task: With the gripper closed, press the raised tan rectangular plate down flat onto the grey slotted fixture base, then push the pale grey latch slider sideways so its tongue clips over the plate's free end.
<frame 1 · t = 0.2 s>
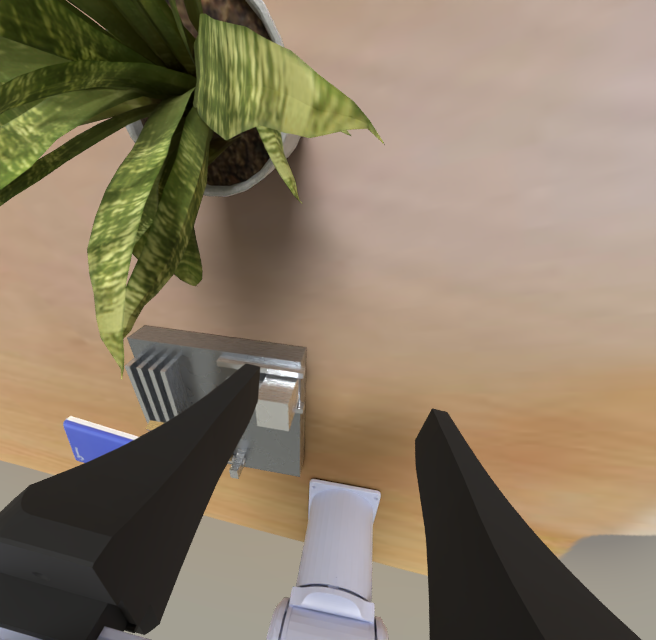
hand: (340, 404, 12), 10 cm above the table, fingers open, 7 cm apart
grey slotted fixture base: (233, 399, 28), on the table
tan rectangular plate: (197, 444, 24), point 5 cm above the table, hinge at 25.0°
latch: (259, 396, 22), point 4 cm above the table, slide at 0.0 cm
hard drive: (128, 445, 36), on the table
house plant: (237, 100, 16), on the table
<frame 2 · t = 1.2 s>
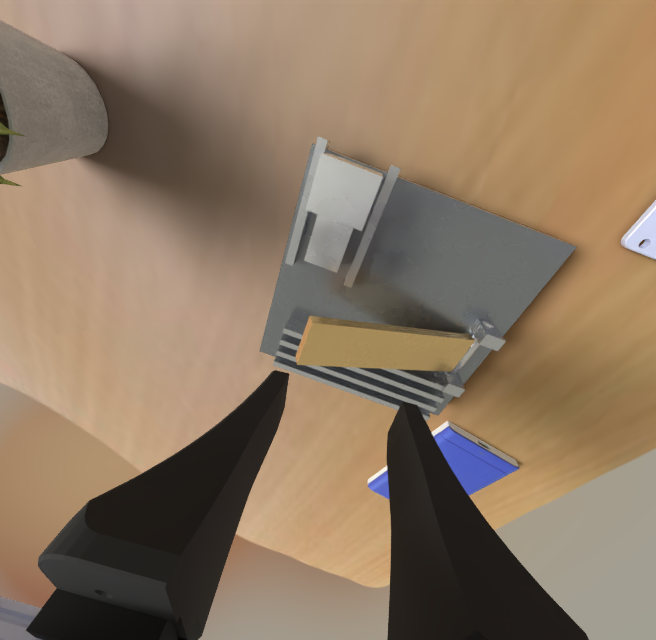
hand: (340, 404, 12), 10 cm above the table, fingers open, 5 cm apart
grey slotted fixture base: (387, 295, 20), on the table
tan rectangular plate: (391, 348, 17), point 5 cm above the table, hinge at 25.0°
latch: (335, 220, 15), point 4 cm above the table, slide at 0.0 cm
hard drive: (434, 464, 30), on the table
house plant: (65, 126, 18), on the table
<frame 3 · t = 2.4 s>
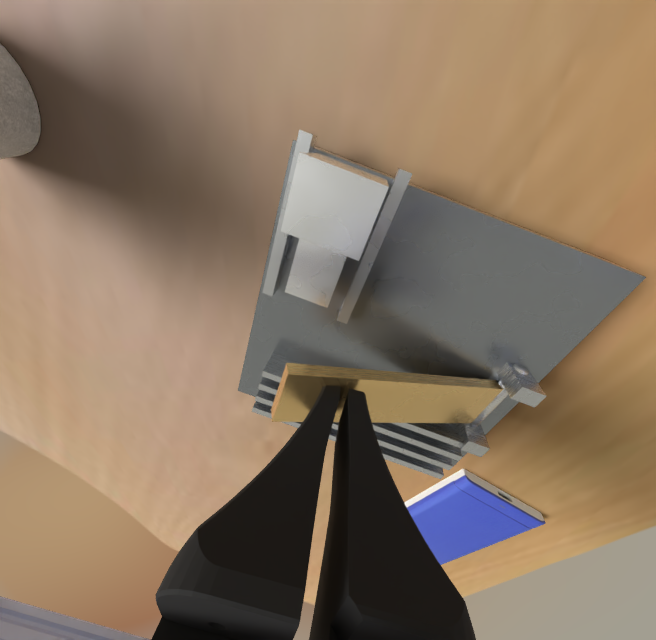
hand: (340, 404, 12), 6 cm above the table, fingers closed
grey slotted fixture base: (392, 327, 17), on the table
tan rectangular plate: (395, 398, 13), point 5 cm above the table, hinge at 22.2°, touching gripper
latch: (324, 242, 11), point 4 cm above the table, slide at 0.0 cm
hard drive: (444, 510, 26), on the table
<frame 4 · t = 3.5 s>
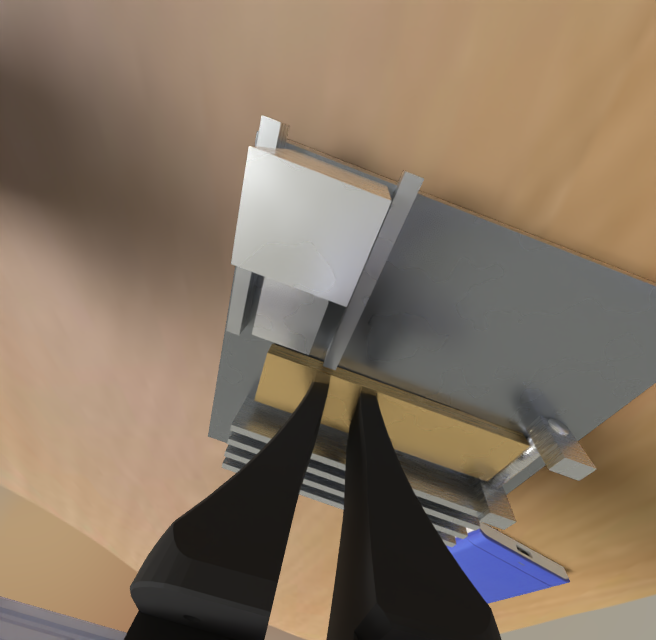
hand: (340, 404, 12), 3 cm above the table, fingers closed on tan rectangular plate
grey slotted fixture base: (393, 364, 13), on the table
tan rectangular plate: (385, 416, 12), point 2 cm above the table, hinge at 0.5°, touching gripper
latch: (302, 272, 8), point 4 cm above the table, slide at 0.0 cm
hard drive: (452, 556, 23), on the table
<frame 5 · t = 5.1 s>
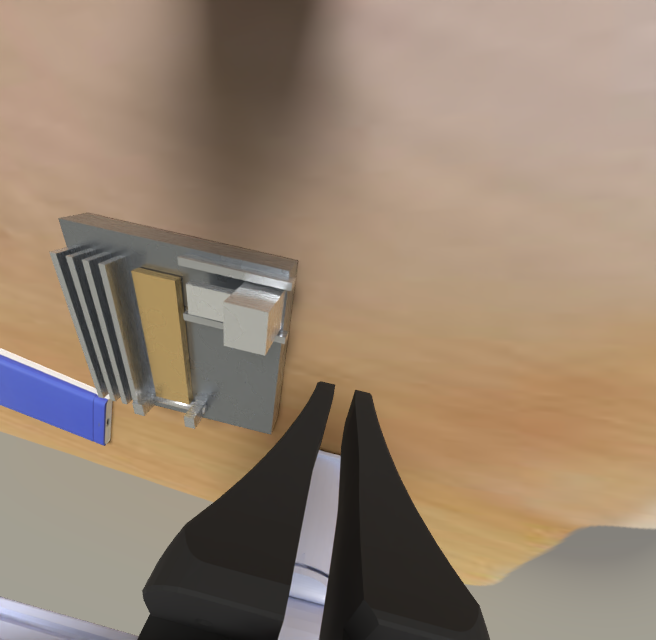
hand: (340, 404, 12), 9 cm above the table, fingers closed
grey slotted fixture base: (197, 330, 22), on the table
tan rectangular plate: (166, 344, 20), point 2 cm above the table, hinge at 0.5°
latch: (231, 309, 16), point 4 cm above the table, slide at 0.0 cm
hard drive: (60, 390, 30), on the table
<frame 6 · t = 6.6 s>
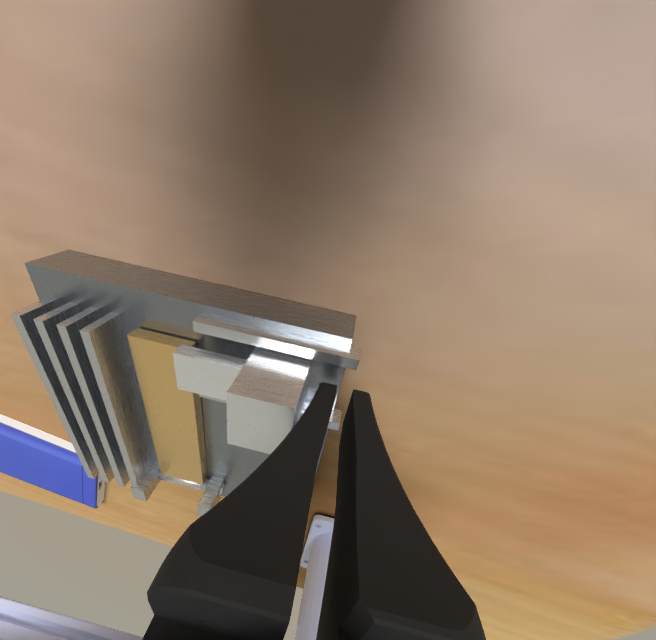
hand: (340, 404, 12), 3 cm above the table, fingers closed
grey slotted fixture base: (214, 393, 17), on the table
tan rectangular plate: (175, 419, 15), point 2 cm above the table, hinge at 0.5°
latch: (237, 386, 12), point 4 cm above the table, slide at 1.4 cm, touching gripper
hard drive: (45, 445, 25), on the table
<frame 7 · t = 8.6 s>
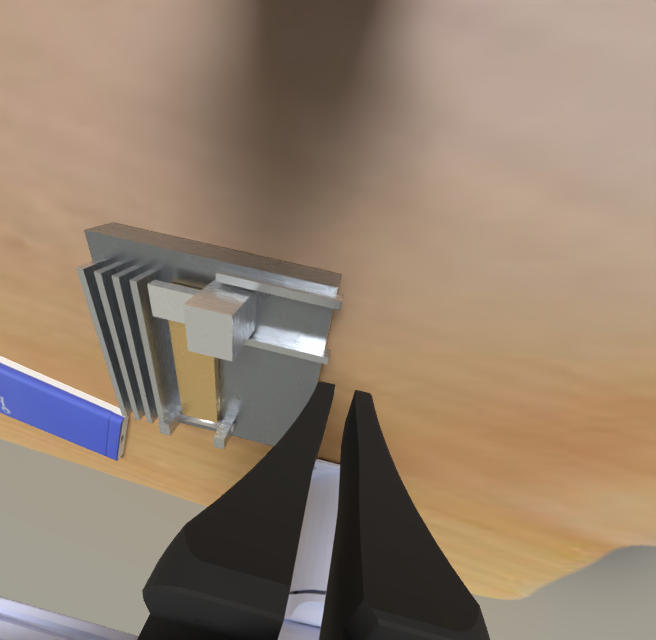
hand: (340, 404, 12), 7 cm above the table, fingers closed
grey slotted fixture base: (226, 345, 21), on the table
tan rectangular plate: (196, 362, 19), point 2 cm above the table, hinge at 0.5°, touching latch
latch: (197, 311, 15), point 4 cm above the table, slide at 4.3 cm, touching tan rectangular plate
hard drive: (73, 404, 29), on the table
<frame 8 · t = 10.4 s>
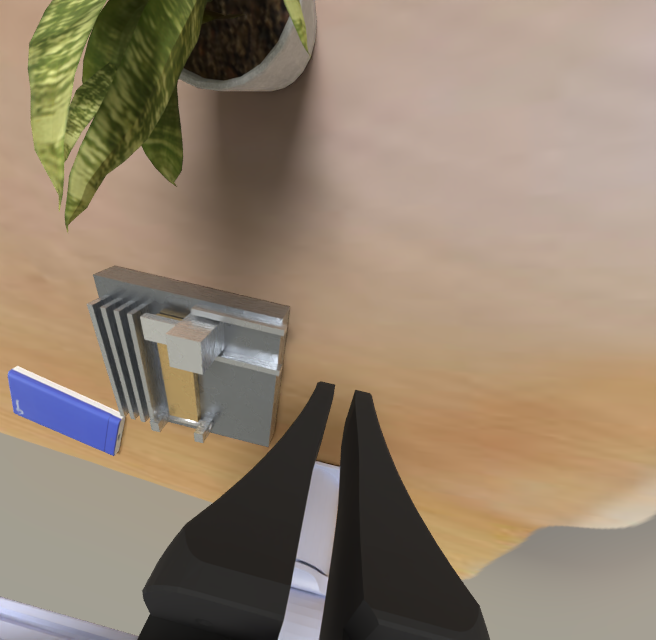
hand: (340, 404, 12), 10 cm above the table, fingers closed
grey slotted fixture base: (205, 359, 26), on the table
tan rectangular plate: (180, 373, 24), point 2 cm above the table, hinge at 0.5°, touching latch
latch: (177, 336, 20), point 4 cm above the table, slide at 4.3 cm, touching tan rectangular plate
hard drive: (77, 407, 34), on the table
house plant: (243, 6, 14), on the table
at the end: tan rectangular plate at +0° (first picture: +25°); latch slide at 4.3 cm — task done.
